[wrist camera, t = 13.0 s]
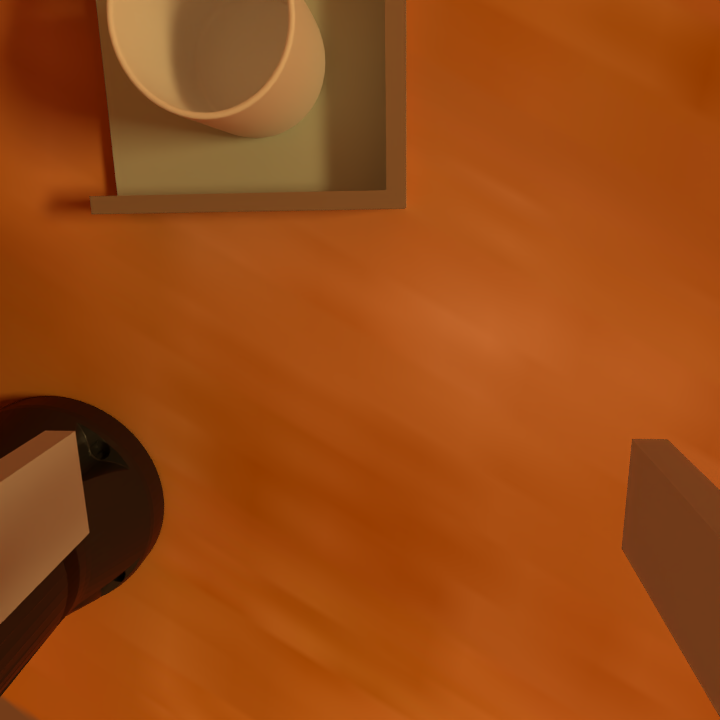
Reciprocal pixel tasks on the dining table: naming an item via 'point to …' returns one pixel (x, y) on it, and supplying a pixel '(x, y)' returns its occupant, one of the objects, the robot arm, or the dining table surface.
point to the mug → (222, 60)
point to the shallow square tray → (280, 152)
